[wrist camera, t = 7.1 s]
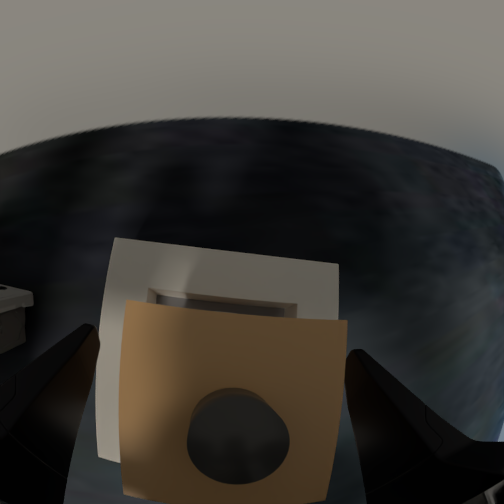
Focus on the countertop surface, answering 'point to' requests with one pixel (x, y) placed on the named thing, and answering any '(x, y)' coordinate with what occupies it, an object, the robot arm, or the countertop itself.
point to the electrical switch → (13, 316)
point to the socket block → (198, 301)
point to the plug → (228, 405)
